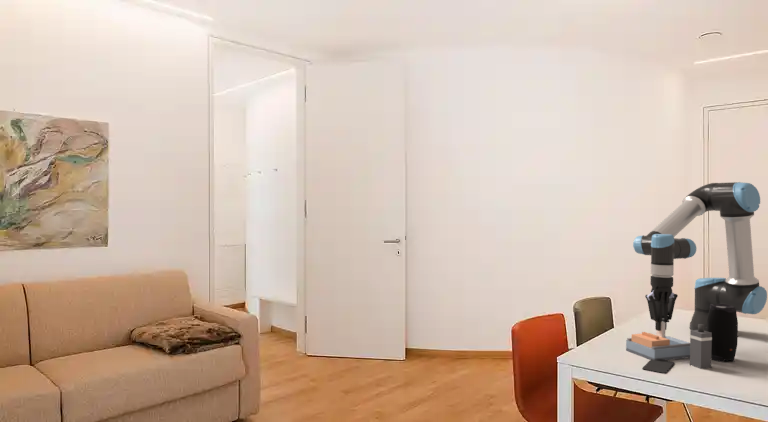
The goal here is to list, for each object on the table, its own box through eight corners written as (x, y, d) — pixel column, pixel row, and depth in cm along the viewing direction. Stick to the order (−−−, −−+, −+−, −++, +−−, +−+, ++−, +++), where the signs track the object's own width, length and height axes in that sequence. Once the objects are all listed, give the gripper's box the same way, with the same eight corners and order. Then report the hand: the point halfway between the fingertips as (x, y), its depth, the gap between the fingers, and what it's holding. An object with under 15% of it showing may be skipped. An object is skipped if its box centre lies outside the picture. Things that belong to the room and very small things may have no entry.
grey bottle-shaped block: (699, 363, 190) (700, 322, 190) (711, 367, 186) (712, 325, 185) (689, 364, 189) (690, 323, 189) (700, 368, 185) (701, 326, 184)
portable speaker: (740, 364, 190) (741, 308, 189) (710, 361, 193) (711, 306, 192) (732, 356, 198) (733, 303, 198) (703, 354, 201) (704, 302, 200)
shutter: (648, 339, 207) (648, 330, 207) (669, 346, 197) (669, 336, 197) (631, 341, 204) (631, 331, 204) (651, 348, 195) (651, 338, 195)
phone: (641, 368, 184) (652, 357, 195) (641, 370, 184) (652, 360, 195) (665, 373, 179) (675, 361, 191) (665, 375, 179) (675, 364, 191)
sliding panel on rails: (668, 346, 212) (668, 334, 212) (698, 356, 199) (699, 343, 198) (626, 350, 206) (626, 337, 206) (654, 361, 193) (654, 347, 193)
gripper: (668, 273, 207) (666, 335, 208) (639, 275, 203) (638, 337, 204) (684, 276, 200) (682, 340, 200) (655, 277, 196) (654, 342, 197)
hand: (660, 338), depth 202 cm, fingers closed
